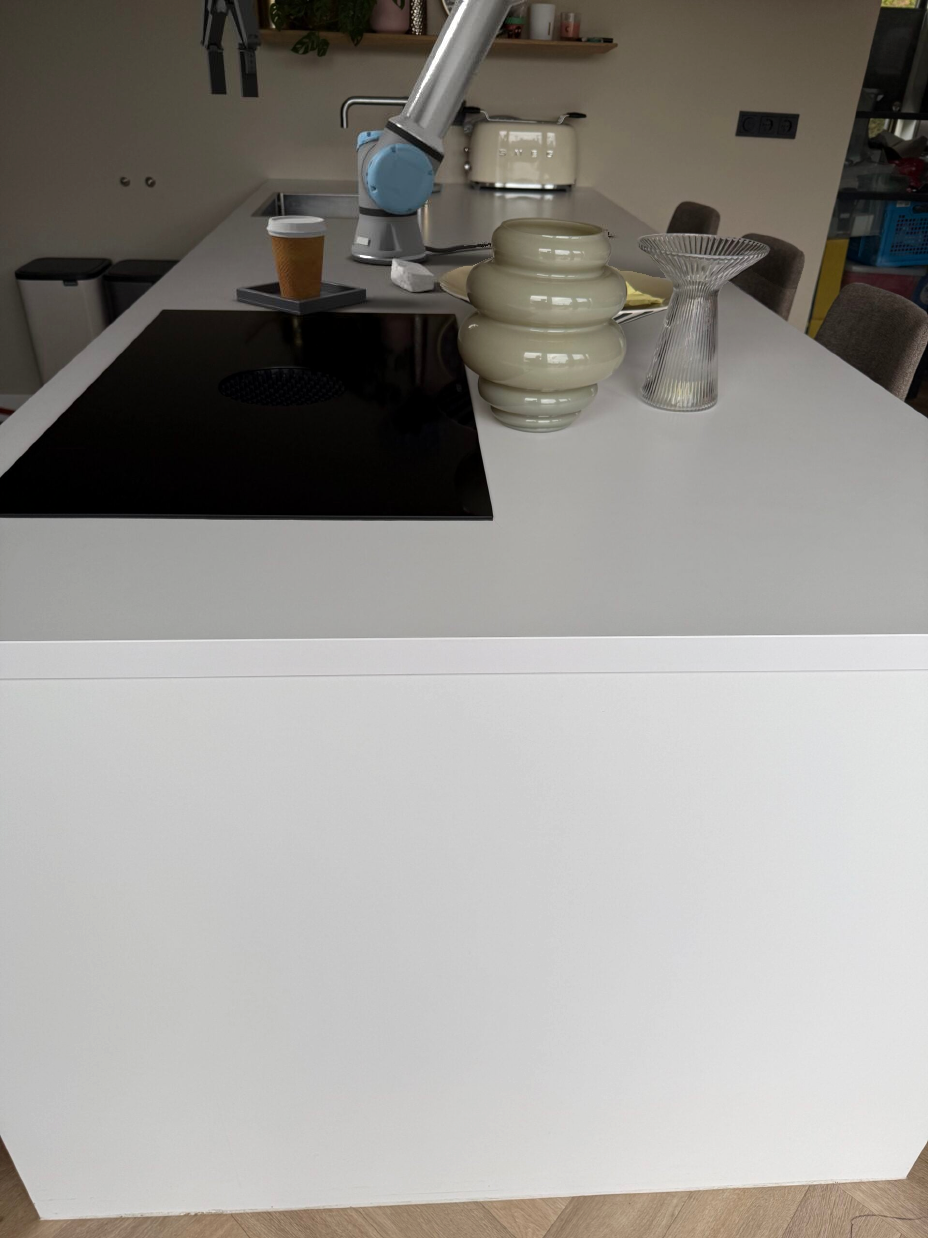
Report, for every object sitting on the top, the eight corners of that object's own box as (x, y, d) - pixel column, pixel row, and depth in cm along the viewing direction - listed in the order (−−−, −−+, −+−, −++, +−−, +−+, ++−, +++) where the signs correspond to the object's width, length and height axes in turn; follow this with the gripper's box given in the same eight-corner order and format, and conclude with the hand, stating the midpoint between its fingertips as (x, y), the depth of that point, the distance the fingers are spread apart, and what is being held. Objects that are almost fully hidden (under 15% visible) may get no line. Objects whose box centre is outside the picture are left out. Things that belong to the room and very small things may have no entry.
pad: (304, 287, 161) (303, 275, 160) (366, 301, 153) (366, 288, 152) (236, 300, 150) (235, 287, 149) (300, 315, 143) (299, 302, 142)
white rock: (427, 311, 163) (439, 281, 159) (394, 302, 160) (405, 272, 157) (417, 282, 169) (427, 253, 166) (384, 274, 167) (395, 244, 163)
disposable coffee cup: (260, 299, 149) (254, 220, 143) (291, 289, 157) (286, 213, 150) (311, 306, 146) (307, 225, 140) (340, 295, 154) (337, 218, 148)
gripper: (170, -55, 153) (186, 92, 163) (228, -68, 135) (242, 97, 146) (213, -50, 156) (226, 93, 167) (275, -63, 139) (285, 98, 150)
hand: (233, 95), depth 157 cm, fingers open, 13 cm apart
